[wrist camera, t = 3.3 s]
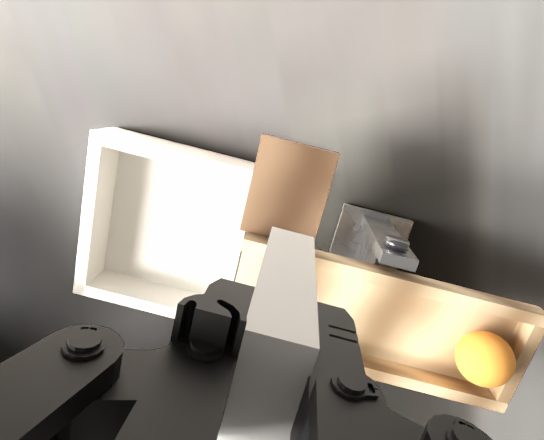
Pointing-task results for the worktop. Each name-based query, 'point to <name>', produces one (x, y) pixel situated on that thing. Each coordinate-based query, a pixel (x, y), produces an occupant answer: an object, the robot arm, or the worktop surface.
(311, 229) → the lever
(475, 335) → the ball
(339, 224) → the stand
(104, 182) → the dish
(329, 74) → the worktop surface
